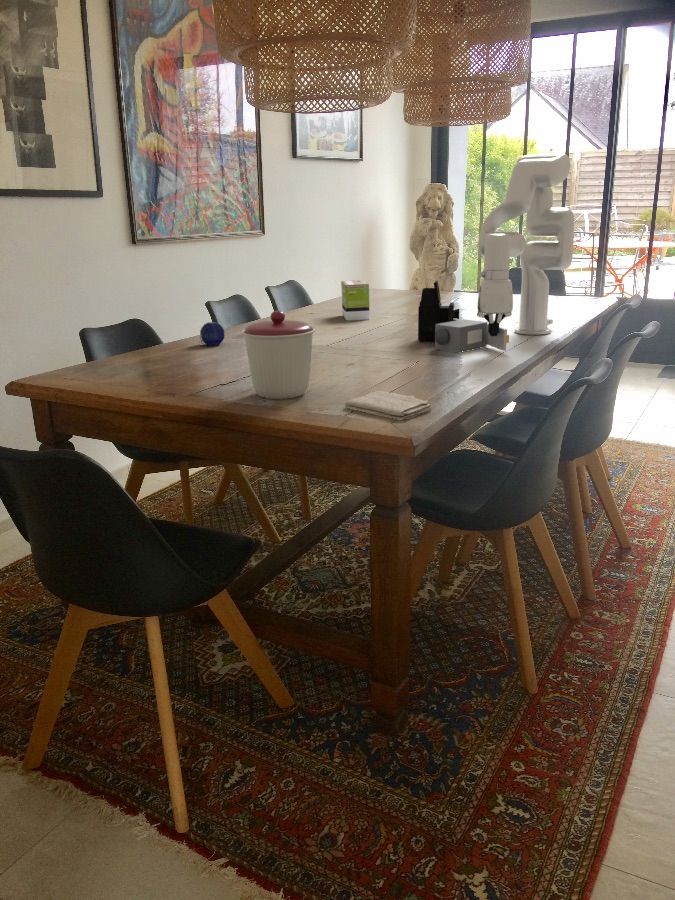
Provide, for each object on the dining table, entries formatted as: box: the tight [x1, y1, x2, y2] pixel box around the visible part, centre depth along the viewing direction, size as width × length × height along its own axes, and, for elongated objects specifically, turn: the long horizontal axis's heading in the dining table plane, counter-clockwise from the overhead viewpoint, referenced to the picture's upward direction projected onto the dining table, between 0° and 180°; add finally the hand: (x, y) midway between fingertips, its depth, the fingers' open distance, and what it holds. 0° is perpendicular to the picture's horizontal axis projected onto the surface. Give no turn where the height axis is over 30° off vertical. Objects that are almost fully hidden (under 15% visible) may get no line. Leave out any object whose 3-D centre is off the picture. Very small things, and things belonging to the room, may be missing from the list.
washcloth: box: [344, 390, 432, 421], centre depth 173 cm, size 12×18×3 cm, turn 49°
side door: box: [486, 323, 510, 351], centre depth 237 cm, size 12×2×6 cm, turn 16°
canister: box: [241, 310, 316, 400], centre depth 186 cm, size 18×18×21 cm
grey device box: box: [434, 318, 489, 353], centre depth 242 cm, size 15×10×8 cm
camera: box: [417, 280, 460, 343], centre depth 254 cm, size 10×14×20 cm
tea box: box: [340, 279, 371, 321], centre depth 311 cm, size 15×10×15 cm
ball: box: [199, 321, 225, 347], centre depth 258 cm, size 8×8×8 cm
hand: (493, 335), depth 234 cm, fingers closed
